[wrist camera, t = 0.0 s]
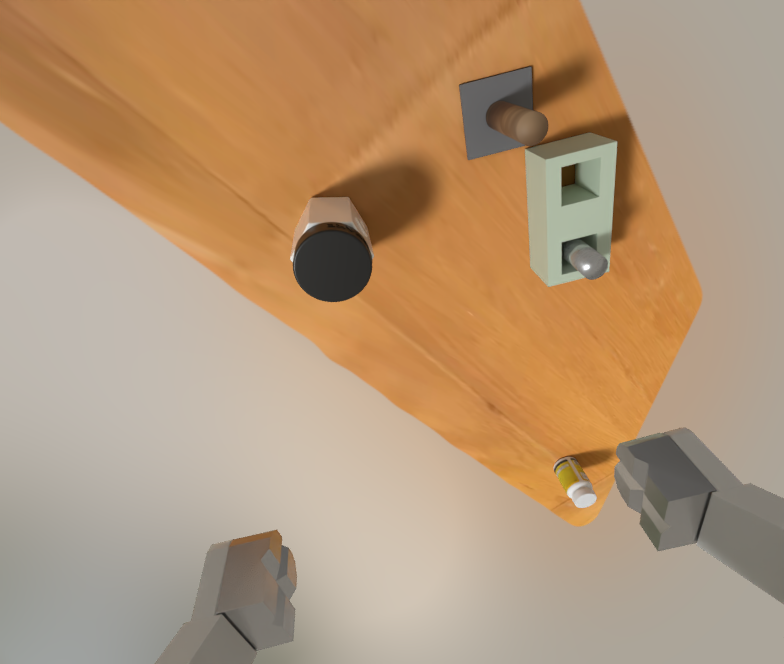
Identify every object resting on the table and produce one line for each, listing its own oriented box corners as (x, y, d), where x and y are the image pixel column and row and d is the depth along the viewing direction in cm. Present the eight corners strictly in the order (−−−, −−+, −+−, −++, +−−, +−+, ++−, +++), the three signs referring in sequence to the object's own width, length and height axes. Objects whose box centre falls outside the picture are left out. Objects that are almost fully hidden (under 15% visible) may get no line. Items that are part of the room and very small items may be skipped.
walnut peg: (484, 104, 50) (516, 116, 42) (510, 97, 50) (547, 108, 42) (487, 132, 52) (518, 149, 43) (512, 126, 52) (548, 141, 43)
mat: (459, 84, 49) (459, 85, 49) (530, 66, 49) (531, 66, 49) (467, 159, 53) (468, 160, 53) (532, 142, 53) (534, 143, 53)
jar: (377, 240, 57) (388, 281, 47) (324, 271, 59) (324, 318, 49) (339, 179, 53) (343, 210, 43) (282, 214, 54) (273, 253, 44)
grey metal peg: (547, 229, 60) (583, 259, 51) (568, 224, 60) (608, 253, 51) (547, 249, 61) (582, 282, 53) (568, 244, 61) (607, 275, 53)
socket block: (524, 149, 54) (545, 159, 49) (589, 132, 53) (617, 141, 48) (530, 267, 62) (548, 286, 57) (586, 253, 62) (609, 271, 57)
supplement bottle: (550, 473, 88) (570, 510, 81) (555, 457, 85) (576, 494, 78) (573, 471, 88) (595, 507, 81) (579, 454, 86) (601, 491, 79)
